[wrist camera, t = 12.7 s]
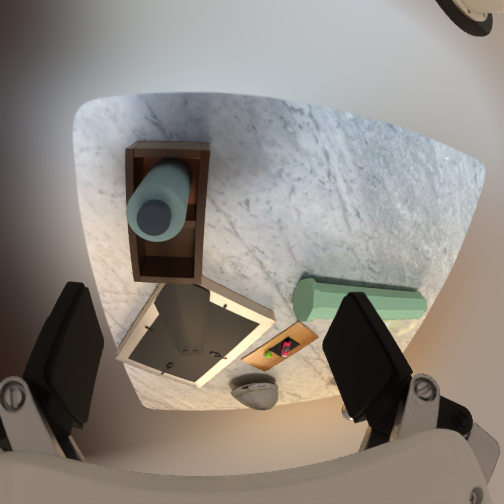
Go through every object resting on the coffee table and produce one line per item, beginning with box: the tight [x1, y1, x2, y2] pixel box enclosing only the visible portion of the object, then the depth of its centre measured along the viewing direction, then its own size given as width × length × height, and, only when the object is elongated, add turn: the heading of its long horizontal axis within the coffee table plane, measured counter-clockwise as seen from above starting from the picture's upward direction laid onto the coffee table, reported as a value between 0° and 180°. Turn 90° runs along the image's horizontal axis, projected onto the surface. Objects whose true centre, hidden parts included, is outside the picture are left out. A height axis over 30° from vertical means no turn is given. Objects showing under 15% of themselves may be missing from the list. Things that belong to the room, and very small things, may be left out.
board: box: [241, 321, 319, 371], centre depth 43 cm, size 6×12×2 cm, turn 132°
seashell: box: [231, 383, 278, 410], centre depth 47 cm, size 12×8×5 cm
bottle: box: [126, 158, 192, 242], centre depth 22 cm, size 4×4×10 cm
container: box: [293, 278, 427, 321], centre depth 38 cm, size 6×6×25 cm
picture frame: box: [116, 276, 276, 388], centre depth 37 cm, size 16×3×21 cm
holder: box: [125, 141, 210, 284], centre depth 26 cm, size 7×14×4 cm, turn 172°
